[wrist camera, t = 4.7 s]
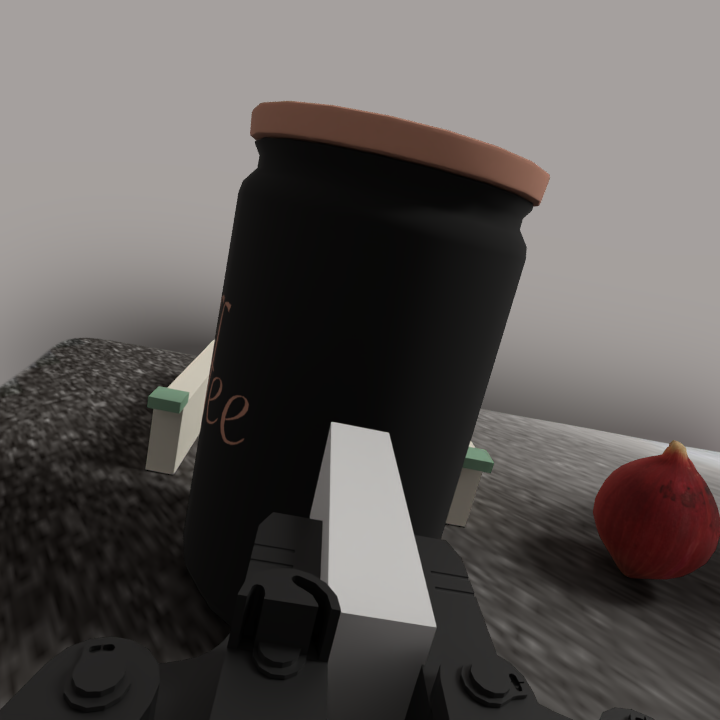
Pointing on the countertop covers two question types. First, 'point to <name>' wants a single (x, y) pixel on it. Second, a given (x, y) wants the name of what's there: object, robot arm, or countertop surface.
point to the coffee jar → (351, 318)
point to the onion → (658, 516)
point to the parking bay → (183, 422)
